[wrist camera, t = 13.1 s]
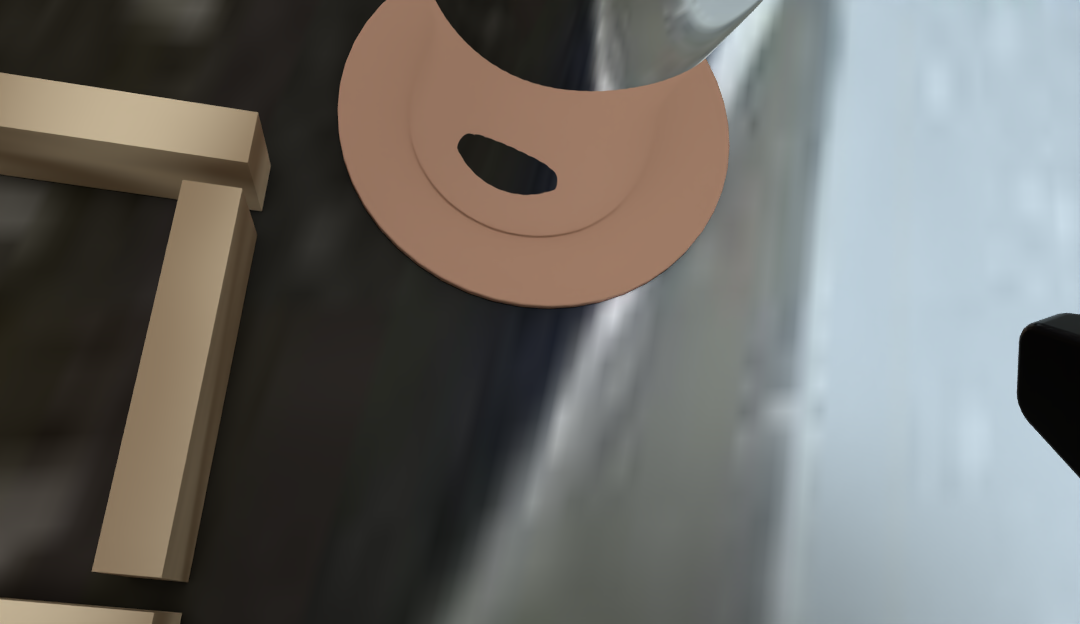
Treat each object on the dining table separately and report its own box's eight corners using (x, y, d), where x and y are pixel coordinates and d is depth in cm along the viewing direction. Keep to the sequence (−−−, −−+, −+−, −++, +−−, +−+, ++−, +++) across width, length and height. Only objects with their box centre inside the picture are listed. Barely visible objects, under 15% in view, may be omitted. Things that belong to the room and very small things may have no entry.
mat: (728, -6, 26) (732, -13, 26) (721, 333, 23) (725, 330, 22) (369, -72, 25) (369, -80, 24) (307, 278, 21) (306, 273, 21)
